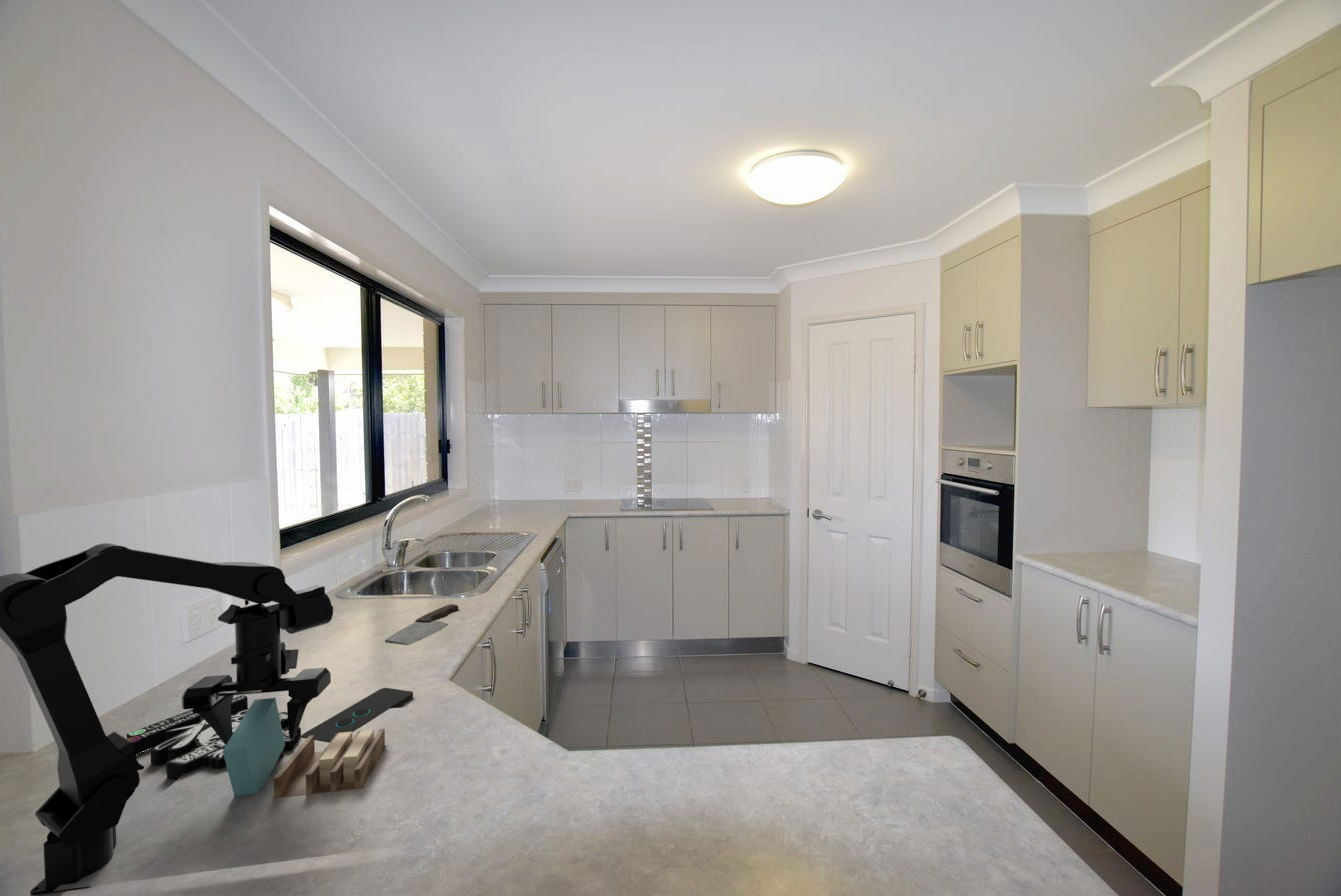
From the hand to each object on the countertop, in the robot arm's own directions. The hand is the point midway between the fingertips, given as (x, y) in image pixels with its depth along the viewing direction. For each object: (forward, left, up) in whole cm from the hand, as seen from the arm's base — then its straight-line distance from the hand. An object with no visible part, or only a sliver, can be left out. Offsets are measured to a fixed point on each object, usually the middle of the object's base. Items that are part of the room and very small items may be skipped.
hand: (261, 740), depth 89 cm
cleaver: (+72, -9, -8) cm, 73 cm away
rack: (0, -10, -7) cm, 13 cm away
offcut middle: (0, -11, -6) cm, 12 cm away
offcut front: (0, -14, -6) cm, 16 cm away
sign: (+13, +12, -8) cm, 20 cm away
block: (+1, 0, -6) cm, 6 cm away
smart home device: (+19, -8, -8) cm, 22 cm away
